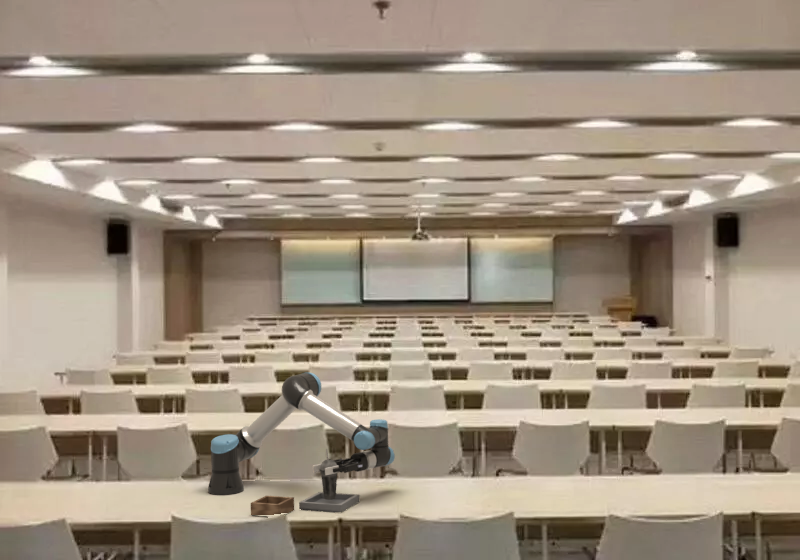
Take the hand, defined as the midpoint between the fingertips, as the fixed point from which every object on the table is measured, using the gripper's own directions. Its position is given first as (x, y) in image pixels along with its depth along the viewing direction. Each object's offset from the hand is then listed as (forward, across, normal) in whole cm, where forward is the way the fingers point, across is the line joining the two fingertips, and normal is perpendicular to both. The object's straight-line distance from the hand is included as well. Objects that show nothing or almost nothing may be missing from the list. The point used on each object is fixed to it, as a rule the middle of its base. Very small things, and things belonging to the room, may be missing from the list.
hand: (319, 470), depth 388 cm
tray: (-5, 0, -15) cm, 16 cm away
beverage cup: (-5, 0, -12) cm, 13 cm away
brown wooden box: (+17, +9, -15) cm, 24 cm away
